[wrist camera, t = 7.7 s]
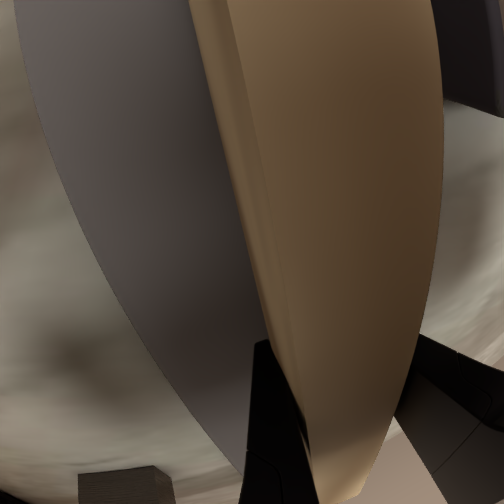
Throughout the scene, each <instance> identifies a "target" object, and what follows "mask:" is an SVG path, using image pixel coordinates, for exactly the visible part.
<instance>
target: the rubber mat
mask: <svg viewBox="0 0 504 504" xmlns="http://www.w3.org/2000/svg"><path fill="white" fill-rule="evenodd" d="M14 8H15V15H16V21H17V27H18V33H19V39H20V44H21V49H22V53H23V58H24V63H25V67H26V71H27V75H28V79H29V83H30V87H31V91H32V94H33V98H34V102H35V105H36V109H37V112H38V115H39V119H40V122H41V125H42V128H43V131H44V134H45V137H46V140H47V143H48V146H49V149H50V152H51V154H52V157H53V160H54V163H55V165H56V168H57V171H58V173H59V176H60V179H61V181H62V184H63V186H64V189H65V191H66V193H67V196H68V198H69V201H70V203H71V205H72V208H73V210H74V212H75V215H76V217H77V219H78V221H79V224H80V226H81V228H82V230H83V232H84V235H85V237H86V239H87V241H88V243H89V245H90V247H91V249H92V251H93V253H94V255H95V257H96V259H97V261H98V263H99V265H100V267H101V269H102V271H103V273H104V275H105V277H106V279H107V281H108V283H109V284H110V286H111V288H112V290H113V292H114V294H115V296H116V297H117V299H118V301H119V303H120V304H121V306H122V308H123V310H124V311H125V313H126V315H127V317H128V318H129V320H130V322H131V323H132V325H133V327H134V329H135V330H136V332H137V333H138V335H139V337H140V338H141V340H142V342H143V343H144V345H145V346H146V348H147V350H148V351H149V353H150V354H151V356H152V357H153V359H154V361H155V362H156V364H157V365H158V367H159V368H160V370H161V371H162V373H163V374H164V376H165V377H166V379H167V380H168V381H169V383H170V384H171V386H172V387H173V389H174V390H175V392H176V393H177V394H178V396H179V397H180V399H181V400H182V401H183V403H184V404H185V405H186V407H187V408H188V410H189V411H190V412H191V414H192V415H193V416H194V418H195V419H196V420H197V422H198V423H199V424H200V425H201V427H202V428H203V429H204V431H205V432H206V433H207V434H208V436H209V437H210V438H211V439H212V441H213V442H214V443H215V444H216V446H217V447H218V448H219V449H220V451H221V452H222V453H223V454H224V455H225V457H226V458H227V459H228V460H229V461H230V462H231V464H232V465H233V466H234V467H235V468H236V469H237V471H238V472H239V473H240V474H241V475H242V476H243V475H244V467H245V456H246V451H247V449H246V446H247V433H248V420H249V407H250V393H251V380H252V366H253V352H254V344H255V343H256V342H258V341H261V340H264V339H269V335H268V331H267V327H266V323H265V319H264V315H263V311H262V307H261V302H260V298H259V294H258V290H257V286H256V282H255V278H254V274H253V270H252V265H251V261H250V257H249V253H248V249H247V245H246V241H245V237H244V232H243V228H242V224H241V220H240V216H239V212H238V208H237V203H236V199H235V195H234V191H233V187H232V183H231V178H230V174H229V170H228V166H227V162H226V158H225V153H224V149H223V145H222V141H221V137H220V133H219V128H218V124H217V120H216V116H215V112H214V107H213V103H212V99H211V95H210V91H209V86H208V82H207V78H206V74H205V69H204V65H203V61H202V57H201V53H200V48H199V44H198V40H197V36H196V31H195V27H194V23H193V19H192V14H191V10H190V6H189V1H188V0H14ZM269 341H270V339H269Z"/></svg>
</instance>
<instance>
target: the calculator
mask: <svg viewBox="0 0 504 504" xmlns="http://www.w3.org/2000/svg"><path fill="white" fill-rule="evenodd" d="M430 1H431V6H432V11H433V17H434V22H435V28H436V35H437V42H438V50H439V58H440V68H441V79H442V93H443V99H447V100H450V101H453V102H457V103H460V104H463V105H466V106H469V107H472V108H475V109H478V110H481V111H483V112H486V113H489V114H492V115H495V116H497V117H501V118H504V0H430Z"/></svg>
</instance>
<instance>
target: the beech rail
mask: <svg viewBox="0 0 504 504" xmlns="http://www.w3.org/2000/svg"><path fill="white" fill-rule="evenodd" d="M188 1H189V6H190V10H191V14H192V19H193V23H194V27H195V31H196V36H197V40H198V44H199V48H200V53H201V57H202V61H203V65H204V69H205V74H206V78H207V82H208V86H209V91H210V95H211V99H212V103H213V107H214V112H215V116H216V120H217V124H218V128H219V133H220V137H221V141H222V145H223V149H224V153H225V158H226V162H227V166H228V170H229V174H230V178H231V183H232V187H233V191H234V195H235V199H236V203H237V208H238V212H239V216H240V220H241V224H242V228H243V232H244V237H245V241H246V245H247V249H248V253H249V257H250V261H251V265H252V270H253V274H254V278H255V282H256V286H257V290H258V294H259V298H260V302H261V307H262V311H263V315H264V319H265V323H266V327H267V331H268V335H269V339H270V343H271V347H272V350H273V352H274V355H275V357H276V359H277V361H278V363H279V365H280V367H281V369H282V371H283V373H284V375H285V378H286V380H287V382H288V386H289V389H290V393H291V397H292V401H293V405H294V408H295V412H296V416H297V420H298V423H299V427H300V431H301V435H302V439H303V442H304V446H305V450H306V454H307V457H308V461H309V465H310V469H311V473H312V476H313V480H314V484H315V488H316V492H317V495H318V499H319V503H320V504H338V503H340V502H343V501H345V500H347V499H350V498H352V497H354V496H356V495H358V494H359V493H360V491H361V489H362V487H363V485H364V483H365V481H366V479H367V477H368V475H369V473H370V471H371V468H372V466H373V464H374V462H375V460H376V457H377V455H378V453H379V450H380V448H381V446H382V443H383V441H384V439H385V436H386V434H387V431H388V429H389V426H390V424H391V421H392V418H393V416H394V413H395V410H396V407H397V405H398V402H399V399H400V396H401V393H402V390H403V387H404V384H405V381H406V378H407V374H408V371H409V368H410V364H411V361H412V358H413V354H414V350H415V347H416V343H417V339H418V335H419V331H420V327H421V323H422V319H423V315H424V310H425V306H426V301H427V296H428V291H429V286H430V281H431V275H432V269H433V263H434V257H435V250H436V243H437V235H438V227H439V218H440V208H441V196H442V181H443V157H444V117H443V93H442V79H441V68H440V58H439V50H438V42H437V35H436V28H435V22H434V17H433V11H432V6H431V1H430V0H188Z"/></svg>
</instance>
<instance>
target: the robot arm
mask: <svg viewBox="0 0 504 504" xmlns="http://www.w3.org/2000/svg"><path fill="white" fill-rule="evenodd" d="M394 417H395V419H396V420H397V422H398V423H399V425H400V427H401V428H402V430H403V431H404V433H405V434H406V436H407V438H408V439H409V440H410V442H411V444H412V446H413V447H414V449H415V450H416V452H417V454H418V455H419V457H420V458H421V460H422V462H423V463H424V465H425V466H426V468H427V469H428V471H429V473H430V474H431V476H432V478H433V480H434V481H435V483H436V485H437V486H438V488H439V490H440V491H441V493H442V495H443V496H444V498H445V500H446V501H447V503H448V504H504V371H501V370H499V369H496V368H493V367H491V366H488V365H485V364H483V363H481V362H478V361H476V360H474V359H472V358H470V357H467V356H465V355H463V354H461V353H459V352H458V353H457V351H455V350H453V349H451V348H449V347H447V346H445V345H443V344H441V343H438V342H436V341H434V340H432V339H430V338H428V337H426V336H424V335H422V334H420V333H419V335H418V339H417V343H416V347H415V350H414V354H413V358H412V361H411V364H410V368H409V371H408V374H407V378H406V381H405V384H404V387H403V390H402V393H401V396H400V399H399V402H398V405H397V407H396V410H395V413H394ZM246 449H247V451H246V456H245V467H244V475H243V483H242V488H241V493H240V498H239V502H238V504H320V503H319V499H318V495H317V492H316V488H315V484H314V480H313V476H312V473H311V469H310V465H309V461H308V457H307V454H306V450H305V446H304V442H303V439H302V435H301V431H300V427H299V423H298V420H297V416H296V412H295V408H294V405H293V401H292V397H291V393H290V389H289V386H288V382H287V380H286V378H285V375H284V373H283V371H282V369H281V367H280V365H279V363H278V361H277V359H276V357H275V355H274V352H273V350H272V347H271V343H270V341H269V339H264V340H261V341H258V342H256V343H255V344H254V352H253V366H252V380H251V393H250V407H249V420H248V433H247V446H246ZM0 504H24V503H22V502H20V501H18V500H16V499H14V498H12V497H10V496H8V495H6V494H5V493H2V492H0Z"/></svg>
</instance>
